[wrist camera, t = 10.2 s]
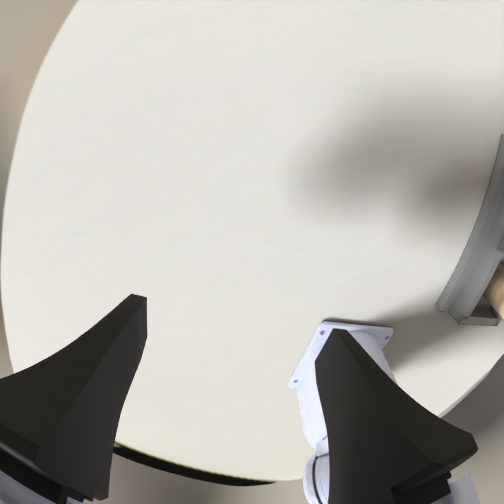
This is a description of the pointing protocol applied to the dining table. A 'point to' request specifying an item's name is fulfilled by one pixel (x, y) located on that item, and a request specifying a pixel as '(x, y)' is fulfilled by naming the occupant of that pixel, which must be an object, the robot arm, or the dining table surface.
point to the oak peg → (496, 290)
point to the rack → (479, 258)
